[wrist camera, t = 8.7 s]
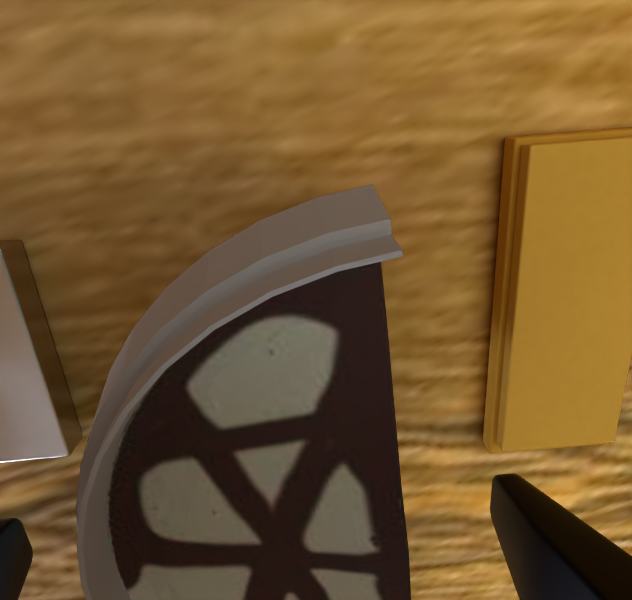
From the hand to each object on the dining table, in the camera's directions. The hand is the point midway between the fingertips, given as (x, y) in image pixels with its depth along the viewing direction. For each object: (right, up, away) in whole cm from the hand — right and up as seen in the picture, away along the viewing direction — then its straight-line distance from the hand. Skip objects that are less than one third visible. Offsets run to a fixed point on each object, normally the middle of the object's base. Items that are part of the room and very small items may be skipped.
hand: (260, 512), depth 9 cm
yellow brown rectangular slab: (+10, +4, +8) cm, 14 cm away
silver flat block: (-10, +2, +8) cm, 13 cm away
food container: (-1, +3, +8) cm, 9 cm away
